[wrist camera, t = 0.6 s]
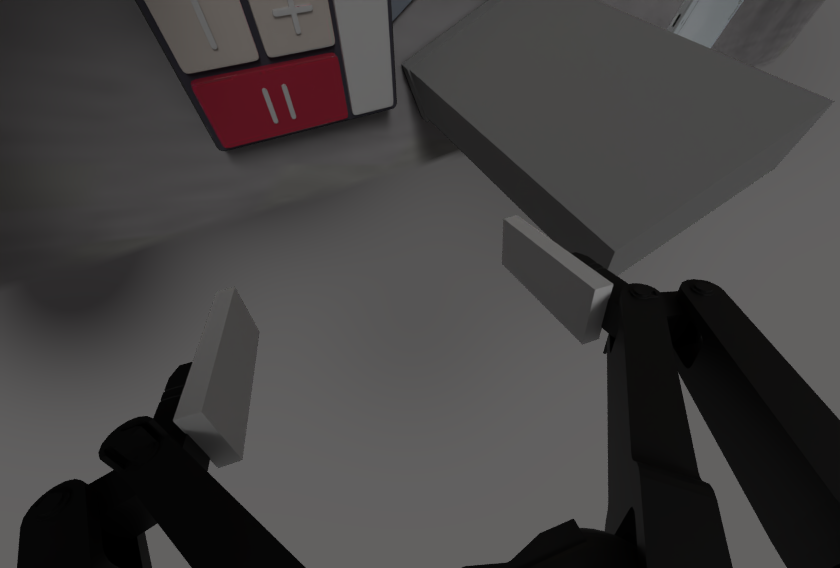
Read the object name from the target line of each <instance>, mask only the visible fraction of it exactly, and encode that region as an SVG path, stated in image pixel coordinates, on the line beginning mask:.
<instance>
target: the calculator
mask: <svg viewBox="0 0 840 568" xmlns="http://www.w3.org/2000/svg"><path fill="white" fill-rule="evenodd" d="M135 1H136V3H137V5H138V6H139V8H140V10H141V12H142V14H143V15H144V17H145V19H146V21H147V23H148V24H149V26H150V28H151V30H152V32H153V33H154V35H155V37H156V39H157V41H158V42H159V44H160V46H161V48H162V50H163V51H164V53H165V55H166V57H167V59H168V60H169V62H170V64H171V66H172V68H173V69H174V71H175V73H176V75H177V77H178V78H179V80H180V82H181V84H182V86H183V87H184V89H185V91H186V93H187V95H188V96H189V98H190V100H191V102H192V104H193V105H194V107H195V109H196V111H197V113H198V114H199V116H200V118H201V120H202V122H203V123H204V125H205V127H206V129H207V131H208V132H209V134H210V136H211V138H212V140H213V141H214V143H215V145H216V147H217V148H218V149H219V150H221V151H227V150H232V149H236V148H239V147H243V146H247V145H251V144H255V143H259V142H263V141H267V140H271V139H275V138H279V137H283V136H287V135H291V134H295V133H299V132H303V131H307V130H311V129H315V128H318V127H322V126H326V125H330V124H334V123H338V122H342V121H346V120H350V119H354V118H358V117H362V116H366V115H370V114H374V113H378V112H382V111H386V110H390V109H393V108H394V107H395V106H396V104H397V98H396V80H395V61H394V43H393V25H392V6H391V0H135Z"/></svg>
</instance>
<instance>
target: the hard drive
mask: <svg viewBox="0 0 840 568" xmlns="http://www.w3.org/2000/svg"><path fill="white" fill-rule="evenodd" d="M743 1H744V0H684V2H683V4H682V5H681V7H680V9H679V11H678V12H677V14H676V16H675V17H674V19H673V21H672V22H671V24H670V26H669V27H668V29H667V30H668V31H670V32H672V33H675V34H677V35H680V36H682V37H684V38H687V39H689V40H691V41H694V42H696V43H698V44H701V45H703V46H705V47H708V48H710V49H711V47H712V46H713V44H714V43H715V41H716V40H717V38H718V37H719V36H720V34H721V33H722V31H723V30H724V28H725V27H726V26H727V24H728V23H729V21H730V20H731V18H732V17H733V15H734V14H735V13H736V11H737V10H738V8H739V7H740V5H741V4H742V2H743Z"/></svg>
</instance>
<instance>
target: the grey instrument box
mask: <svg viewBox="0 0 840 568" xmlns="http://www.w3.org/2000/svg"><path fill="white" fill-rule="evenodd" d="M402 67H403V69H404V72H405V74H406V77H407V80H408V82H409V85H410V88H411V90H412V93H413V95H414V98H415V101H416V103H417V106H418V109H419V111H420V114H421V116H422V118H423V119H424V120H425V121H426V122H429V121H431V122H432V123H433V124H434V125H435V126H436V127H437V128H438V129H439V130H440V131H441V132H442V133H443V134H445V135H446V136H447V137H448V138H449V139H450V140H451V141H452V142H453V143H454V144H455V145H456V146H457V147H458V148H459V149H460V150H461V151H462V152H463V153H464V154H465V155H466V156H467V157H468V158H469V159H470V160H471V161H472V162H473V163H474V164H475V165H476V166H477V167H478V168H479V169H480V170H482V172H483V173H484V174H485V175H486V176H487V177H488V178H490V180H491V181H493V183H494V184H496V185H497V186H498V187H499V188H500V189H501V190H502V191H503V192H504V193H505V194H506V195H507V196H508V197H509V198H510V199H511V200H512V201H513V202H514V203H515V204H516V205H517V206H518V207H519V208H520V209H521V210H522V211H523V212H524V213H525V214H526V215H527V216H528V217H529V218H530V219H531V220H532V221H533V222H534V223H535V224H536V225H537V226H539V228H540V229H541V230H543V232H544V233H546V234H547V235H548V236H549V237H550V238H551V239H552V240H553V241H554V242H555V243H557V244H558V245H560V246H561V247H562V248H564V249H565V250H567V251H568V252H569V253H574V252H578V253H580V254H583V255H586V256H588V257H590V258H591V259H593V260H594V261H596V263H598V264H600V265H601V266H603V268H606V269H607V270H609V271H610V272H612V273H613V274H615V275H616V276H618V275H619V274H621V273H622V272H624V271H625V270H626V269H628V268H629V267H631V266H632V265H634V264H635V263H637V262H638V261H640V260H641V259H643V258H644V257H646V256H647V255H648V254H650V253H651V252H653V251H654V250H656V249H657V248H659V247H660V246H661V245H663V244H665V243H666V242H668V241H669V240H670V239H672V238H673V237H675V236H676V235H678V234H679V233H681V232H682V231H684V230H685V229H687V228H688V227H690V226H691V225H692V224H694V223H695V222H697V221H698V220H700V219H701V218H703V217H704V216H706V215H707V214H709V213H710V212H711V211H713V210H714V209H716V208H717V207H719V206H720V205H722V204H723V203H724V202H726V201H728V200H729V199H731V198H732V197H733V196H735V195H736V194H738V193H739V192H741V191H742V190H744V189H745V188H746V187H748V186H750V185H751V184H753V183H754V182H755V181H757V180H758V179H760V178H761V177H763V176H764V175H765V174H767V173H769V172H770V171H772V170H773V169H775V167H776V166H777V165H778V164H779V163H780V162H781V161H782V160H783V158H784V157H785V156H786V155H787V154H788V153H789V152H790V150H791V149H792V148H793V147H794V146H795V145H796V144H797V143H798V142H799V140H800V139H801V138H802V137H803V136H804V135H805V134H806V133H807V131H808V130H809V129H810V128H811V127H812V126H813V125H814V123H815V122H816V121H817V120H818V119H819V118H820V117H821V116H822V114H823V113H824V112H825V111H826V110H827V109H828V108H829V107H830V105H831V104H832V103H833V102H834V101H832V100H830V99H828V98H826V97H823V96H821V95H819V94H816V93H814V92H811V91H809V90H807V89H804V88H802V87H800V86H797V85H795V84H793V83H790V82H788V81H785V80H783V79H781V78H778V77H776V76H774V75H771V74H769V73H767V72H764V71H762V70H760V69H757V68H755V67H753V66H750V65H748V64H745V63H743V62H741V61H738V60H736V59H734V58H731V57H729V56H727V55H724V54H722V53H720V52H717V51H715V50H713V49H710V48H708V47H705V46H703V45H701V44H698V43H696V42H694V41H691V40H689V39H687V38H684V37H682V36H680V35H677V34H675V33H672V32H670V31H668V30H665V29H663V28H661V27H658V26H656V25H654V24H651V23H649V22H647V21H644V20H642V19H639V18H637V17H635V16H632V15H630V14H628V13H625V12H623V11H621V10H618V9H616V8H614V7H611V6H609V5H607V4H604V3H602V2H599V1H597V0H488V1H487V2H485V3H484V4H483V5H481V6H480V7H478V8H477V9H476V10H474V11H473V12H472V13H470V14H469V15H468V16H466V17H465V18H464V19H462V20H461V21H460V22H458V23H457V24H455V25H454V26H453V27H451V28H450V29H449V30H447V31H446V32H445V33H443V34H442V35H441V36H439V37H438V38H437V39H435V40H434V41H432V42H431V43H430V44H428V45H427V46H426V47H424V48H423V49H422V50H420V51H419V52H418V53H416V54H415V55H414V56H412V57H411V58H409V59H408V60H407V61H405V62H404V63H403V64H402Z"/></svg>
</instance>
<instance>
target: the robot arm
mask: <svg viewBox="0 0 840 568" xmlns="http://www.w3.org/2000/svg"><path fill="white" fill-rule="evenodd" d="M502 253H503V254H502V264H503V265H504V266H505V267H506V268H507V269H508V270H509V271H510V272H511V273H512V274H513V275H514V276H515V277H516V278H517V279H518V280H519V281H520V282H521V283H522V284H523V285H524V286H525V287H526V288H527V289H528V290H529V291H530V292H531V293H532V294H533V295H534V296H535V297H536V298H537V299H538V300H539V301H540V302H541V303H542V304H543V305H544V306H545V307H546V308H547V309H548V310H549V311H550V312H551V313H552V314H553V315H554V316H555V317H556V318H557V319H558V320H559V321H560V322H561V323H562V324H563V325H564V326H565V327H566V328H567V329H568V330H569V331H570V332H571V333H572V334H573V335H574V336H575V337H576V338H577V339H578V340H579V341H580V342H581V343H582V344H585V343H588V342H591V341H594V340H597V339H599V335H600V332H601V329H602V328H603V329H604V330H605V331H607V332H608V333H609V335H608V338H607V342H606V345H605V349H604V352H603V353H604V354H606V353H607V384H608V385H607V390H608V391H607V392H608V496H609V497H608V502H609V503H608V512H607V518H606V524H605V531H600V530H596V529H588V528H579V527H578V525H577V524H576V522H575V520H574V519H571V520H569V521H567V522H565V523H562V524H560V525H558V526H556V527H553V528H551V529H549V530H546V531H544V532H542V533H540V534H539V535H538V536H537V537H536V538H534V539H533V540H532V541H531V542H530V543H529V544H528V545H527V546H526V547H525V548H524V549H523V550H522V551H521V552H520V553H518V554H517V555H516V556H515V557H514V558H513V559H512V560H511V561H509V562H507V563H499V564H487V565H475V566H465V567H462V568H733V567H732V563H731V559H730V554H729V550H728V546H727V542H726V537H725V533H724V529H723V524H722V520H721V516H720V511H719V507H718V503H717V499H716V496H715V493H714V490H713V489H712V487H711V486H710V484H708V483H706V482H703V481H702V480H701V478H700V476H699V473H698V468H697V463H696V458H695V453H694V448H693V444H692V438H691V434H690V429H689V424H688V420H687V414H686V410H685V404H684V400H683V395H682V390H681V385H680V380H679V375H678V373H679V374H680V376H681V378H682V380H683V381H684V384H685V385H686V387H687V389H688V391H689V393H690V394H691V396H692V398H693V400H694V402H695V404H696V405H697V407H698V409H699V411H700V413H701V415H702V416H703V418H704V420H705V422H706V424H707V425H708V427H709V429H710V431H711V433H712V435H713V436H714V438H715V440H716V442H717V444H718V446H719V447H720V449H721V451H722V453H723V455H724V456H725V458H726V460H727V462H728V464H729V466H730V467H731V469H732V471H733V473H734V475H735V476H736V478H737V480H738V482H739V484H740V486H741V487H742V489H743V491H744V493H745V495H746V496H747V498H748V500H749V502H750V504H751V506H752V507H753V509H754V511H755V513H756V515H757V516H758V518H759V520H760V522H761V524H762V526H763V527H764V529H765V531H766V533H767V535H768V536H769V538H770V540H771V542H772V544H773V545H774V547H775V549H776V550H777V552H778V554H779V555H780V557H781V559H782V560H783V562H784V563H785V565H786V567H787V568H840V420H839V419H838V418H837V417H836V416H835V415H834V413H833V412H832V411H831V410H830V409H829V408H828V406H826V404H825V403H824V402H823V401H822V400H821V399H820V398H819V396H818V395H817V394H816V393H815V392H814V391H813V390H812V389H811V387H810V386H809V385H808V384H807V383H806V382H805V381H804V380H803V379H802V378H801V376H800V375H799V374H798V373H797V372H796V371H795V370H794V368H793V367H792V366H791V365H790V364H789V363H788V362H787V361H786V360H785V359H784V357H783V356H782V355H781V354H780V353H779V352H778V351H777V350H776V349H775V347H774V346H773V345H772V344H771V343H770V342H769V341H768V339H767V338H766V337H765V336H764V335H763V334H762V333H761V332H760V330H759V329H758V328H757V327H756V326H755V325H754V324H753V323H752V322H751V321H750V319H749V318H748V317H747V316H746V315H745V314H744V313H743V311H742V310H741V309H740V308H739V307H738V306H737V305H736V304H735V303H734V301H733V300H732V299H731V298H730V297H729V296H728V295H727V294H726V292H725V291H724V290H722V289H721V288H720V287H719V286H717V285H715V284H713V283H711V282H708V281H704V280H695V279H693V280H686V281H684V282H682V284H681V286H680V288H679V290H678V291H675V292H659V291H658V290H656V289H655V288H653V287H651V286H648V285H644V284H637V283H635V284H634V283H632V284H628V283H626V282H625V281H623V280H622V279H620V278H619V277H618V276H616V275H615V274H613V273H612V272H610V271H609V270H607V269H606V268H603V266H601V265H600V264H598V263H596V261H594V260H593V259H591V258H590V257H588V256H586V255H583V254H580V253H578V252H574V253H569V252H568V251H567V250H565V249H564V248H562V247H561V246H560V245H558V244H557V243H555V242H554V241H553V240H551V239H550V238H548V237H547V236H546V235H544V234H543V233H541V232H540V231H538V230H537V229H536V228H534V227H533V226H531V225H530V224H529V223H527V222H526V221H524V220H523V219H522V218H520V217H519V216H518V215H515V216H512V217H508V218H504V219H503V251H502ZM258 338H259V330H258V328H257V326H256V325H255V323H254V321H253V319H252V317H251V316H250V314H249V312H248V310H247V308H246V306H245V305H244V303H243V301H242V299H241V298H240V296H239V294H238V292H237V290H236V288H235V287H233V288H228V289H224V290H221V291H217V292H216V295H215V298H214V301H213V303H212V306H211V309H210V312H209V315H208V319H207V321H206V324H205V327H204V330H203V333H202V336H201V339H200V342H199V345H198V348H197V351H196V354H195V357H194V360H193V362H190V363H187V364H183V365H180V366H179V367H178V368H177V369H176V370H175V372H174V373H173V374H172V375H171V376H170V378H169V380H168V382H167V385H166V388H165V392H164V393H163V395H162V398H161V402H160V403H159V405H158V408H157V410H156V413H155V415H154V418H150V417H148V416H143V417H137V418H134V419H132V420H129V421H127V422H126V423H124V424H122V425H121V426H119V427H118V428H117V429H115V430H114V431H113V432H112V433H111V434H110V435H109V436H108V437H107V438H106V440H105V441H104V442H103V443H102V445H101V448H100V450H99V457H100V460H102V461H103V462H104V463H106V464H107V465H108V466H110V467H111V468H112V469H114V470H113V471H111V472H110V473H108V474H106V475H104V476H103V477H101V478H99V479H97V480H95V481H94V482H92V483H90V484H86V483H85V482H83V481H81V480H77V479H74V480H69V481H65V482H63V483H61V484H59V485H57V486H55V487H53V488H52V489H50V490H49V491H48V492H46V493H45V494H44V495H42V496H41V497H40V498H39V499H38V500H37V501H36V502H35V503H34V504H33V505H32V506H31V507H30V509H29V510H28V512H27V513H26V515H25V516H24V518H23V521H22V524H21V527H20V538H19V551H18V563H17V568H152V566H151V561H150V556H149V551H148V546H147V541H146V536H145V531H146V530H148V529H149V528H151V527H152V526H154V525H155V524H157V523H158V524H159V526H160V527H161V528H162V529H163V531H164V532H165V533H166V535H167V536H168V537H169V539H170V540H171V541H172V542H173V544H174V545H175V546H176V548H177V549H178V550H179V551H180V552H181V554H182V555H183V557H184V558H185V559H186V561H187V562H188V563H189V565H190V566H191V567H192V568H305V567H304V566H303V565H302V564H301V563H300V562H299V561H298V560H297V559H296V558H295V557H294V556H293V555H292V554H291V553H290V552H289V551H288V550H287V549H286V548H285V547H284V546H283V545H282V544H281V543H280V542H279V541H278V540H277V539H276V538H275V537H273V535H272V534H271V533H270V532H268V531H267V530H266V529H265V528H264V527H263V526H262V525H261V524H260V523H259V522H258V521H257V520H256V519H255V518H254V517H253V516H252V515H251V514H250V513H249V512H248V511H247V510H246V509H245V508H244V507H243V506H242V505H241V504H240V503H239V502H238V501H237V500H236V499H235V498H234V497H233V496H232V495H230V493H228V491H227V490H225V489H224V488H223V487H222V486H221V485H220V484H219V483H218V482H217V481H216V480H215V479H214V478H213V477H212V476H211V475H210V474H209V473H208V472H207V471H208V466H209V461H210V460H211V461H212V462H213V463H214V464H215V465H216V466H217V467H218V468H220V467H223V466H226V465H229V464H232V463H234V462H237V461H240V460H242V458H243V451H244V443H245V436H246V428H247V421H248V413H249V406H250V398H251V391H252V383H253V375H254V368H255V361H256V353H257V346H258Z"/></svg>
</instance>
